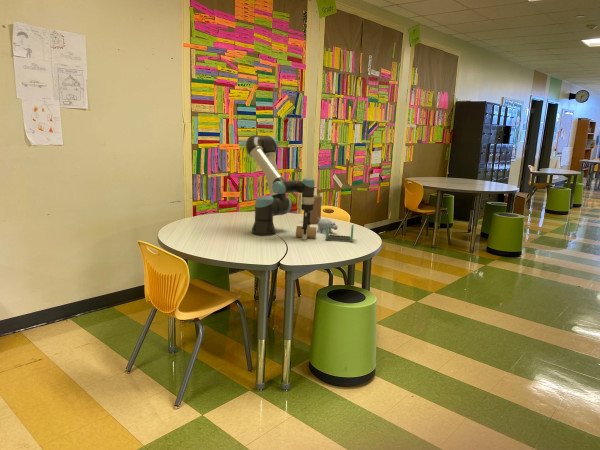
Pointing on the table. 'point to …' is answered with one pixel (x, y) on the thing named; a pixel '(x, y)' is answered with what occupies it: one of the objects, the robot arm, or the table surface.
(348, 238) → the holder
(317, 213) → the wooden block
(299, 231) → the cylinder
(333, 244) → the table surface
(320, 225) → the hippopotamus toy
